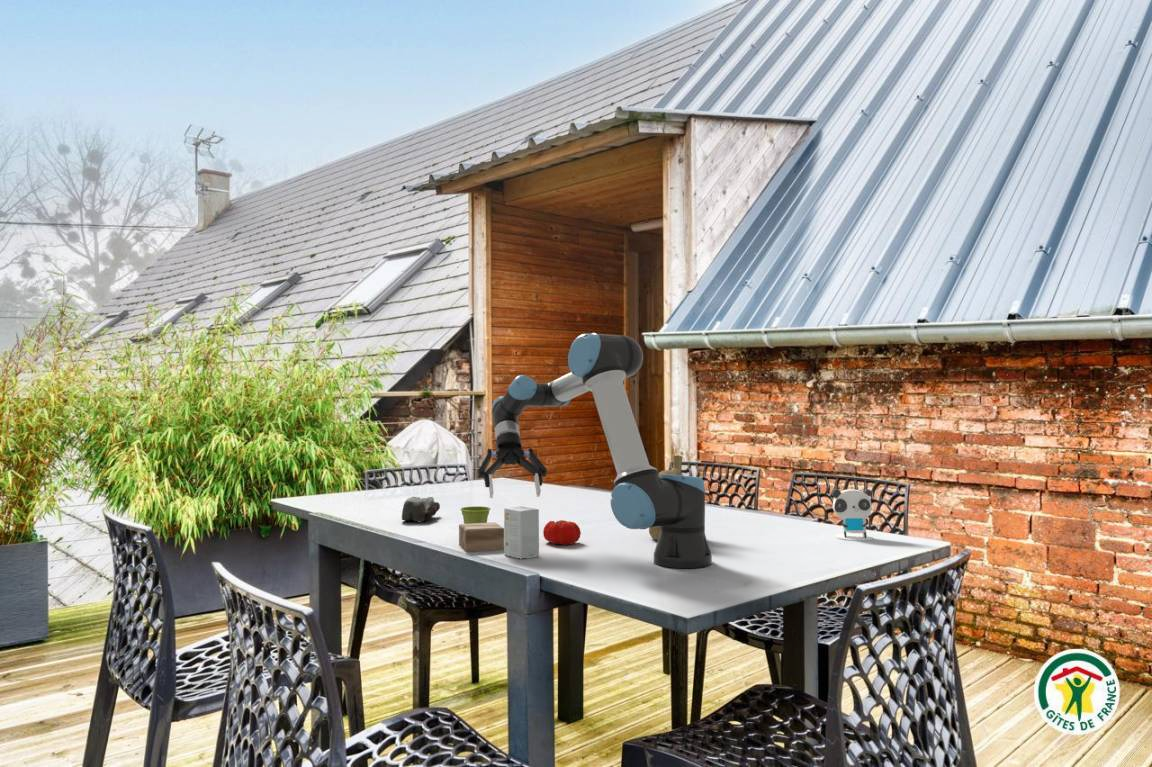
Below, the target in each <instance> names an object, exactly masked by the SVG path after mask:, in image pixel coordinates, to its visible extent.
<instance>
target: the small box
mask: <svg viewBox="0 0 1152 767" xmlns="http://www.w3.org/2000/svg"><path fill="white" fill-rule="evenodd" d="M503 510H504V511H503V512H504V513H503V514H504V515H503V516H504V521H503V522H504V525H503V528H504V550H503V553H504V554H503V555H504V556H506V555H507V556H506V557H510V556H511V558H514V557H515V559H518V558H520V559H519V560H523V559H522V558H527V559H530V558H529V557H533V558H537V557H536V556H538V557H540V517H539V516H540V514H539V512H540V509H538V508H532V507H527V506H515V507H514V506H513V507H512V506H511V507H505V508H504V509H503Z"/></svg>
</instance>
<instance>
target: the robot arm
mask: <svg viewBox="0 0 1152 767" xmlns="http://www.w3.org/2000/svg"><path fill="white" fill-rule="evenodd" d="M567 358H568V359H567V363H568V369H569V371H570V372H569V373H566V374H564V375H563V376H560V377H558V378H557V379H554V380H552V381H550V382H536V381H535V380H534V379H533V378H531V377H530V376H527V375H525V374H521V375H518V376H516V377H515V378H514V379H513V381H512V382H511V383H510V384H509V385H508V388H507V390H506V392H505V393H504V395H503V396H498V397H497V398H496V399H494V401H493V402H492V405H491V407H492V408H491V415H492V421H493V428H494V436H495V446H496V450H492V449H491V448H488V449H487V451H486V456H485V458H484V460H483V461H482V464H481V465H480V466H479V469H478V472H477V478H478V479H482V478H483V481H484V485H485V486H484V487H485V488H488V492H489V498H490V499H493V498H494V484H493V476H492V475H494V473H495V472H497V470H499V468H500V467H502V466H503V465H505V466H507V465H515V466H516V465H519V467H522V468H524V469H525V470H526V471H527V472H528V473H530V474H531V475H532V476H534V478H533V480H534V487H535V492H536V497H540V495H541V487H542V486H543V478H545V477H547V474H548V473H547V472H548V469H547V468H546V467H545V465H544V463H542V462H541V460H540V459H539V457H537V456H536V454H535V453H534V452H535V451H534V450H533V448H532V447H531V448H528V449H527V450H524V449H523V446H522V441H521V433H520V428H519V427H520V426H519V417H520V416H521V414H522V413H523V411H524V410H525V409H526V408H543V407H545V408H547V407H548V408H551V407H552V408H559V407H565V406H568V405H569V403H570V402H571V400H572V399H574V398H576V397H579V396H581V395H584V394H585V393H588V392H591V393H592V396H593V399H594V402H595V406H596V409H597V413H598V415H599V419H600V422H601V425H602V429H603V431H604V432H603V433H604V435H605V438H606V442H607V444H608V448H609V452H610V454H611V458H612V461H613V465H614V467H615V471H616V477H615V479H614V481H613V485H614V488H613V489H612V491H611V494H610V496H611V498H610V508H611V511H612V513H613V514H612V515H613V516H614V517H615V520H617V522H618V523H619V524H621V525H622V526H624V527H625V528H627V529H630V530H647V529H649V528H650V527H657V526H660V536H659V539H658V540H657V543H656V545H655V549H654V552H653V563H654V564H655V565H658V566H661V567H668V568H674V569H698V568H704V567H708V566H711V565H712V562H713V561H712V560H713V558H712V552H711V550H710V549H711V548H710V546H709V543H708V540H707V536H706V529H705V528H706V526H705V525H706V521H705V520H706V490H705V481H704V479H703V478H701V476H700V477H699V476H692V475H683V474H682V475H673V474H661V476H660V477H659V474H658V473H659V470H658V469H657V468H656V467H655V466H652V465H650V463H649V459H648V456H647V452H646V450H645V446H644V444H643V441H642V438H641V434H640V431H639V428H638V426H637V423H636V418H635V417H634V413H633V411H632V408H631V404H630V401H629V397H628V395H627V391H626V389H625V385H624V381H625V379H628V378H630V377H632V376H634V375H636V373H638V372H639V370H640V369H641V368H642V365H643V361H644V354H643V349H642V347H641V346H640V344H639V343H638V342H637V341H636V339H634V338H632V337H631V336H628V335H625V334H624V335H622V334H621V335H620V334H604V333H603V334H602V333H600V334H599V333H596V332H592V333H582V334H580V335H578V336H577V337H576V338H575V339H574V340H573V342H572V344H571V346H570V348H569V352H568V356H567ZM494 457H495V458H497V459H496V460H495V461H494V462H493V463H492V464H491V466H489V465H490V462H491V461H492V459H493V458H494ZM528 459H529V460H528ZM488 466H489V467H488Z"/></svg>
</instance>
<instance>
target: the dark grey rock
mask: <svg viewBox="0 0 1152 767" xmlns="http://www.w3.org/2000/svg"><path fill="white" fill-rule="evenodd" d="M440 508H441V505H440V503H439V502H437V501H435V498H434V497H433V496H429V497H428V496H427V497H424V498H420V496H418V497H417V496H412V497H408V498H406V499H405V501H404V503H403V507H402V511H401V520H404V521H410V520H412V521H414V522H416V521H422V522H423V521H425V520H427V519H429V518H431V517H434V516H435V515H436V514H437V512H438V511H439V510H440ZM424 519H425V520H424Z"/></svg>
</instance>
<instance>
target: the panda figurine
mask: <svg viewBox="0 0 1152 767" xmlns="http://www.w3.org/2000/svg"><path fill="white" fill-rule="evenodd" d="M830 492H831V493H830V494H831V496H832V497H833V498H834V499H833V502H832V510H833V512H834V513H835V514H836V516H837V517H839V518H840V525H841V533H836V534H834V538H835V539H837V540H842V541H849V542H850V541H851V542H867V541H873V540H874V537H873V536H871V535H867V526H868V524H869V519H868V518H869V516H870V515H871V513H872V510H873V506H872V501H871V498H870V497H872V496H873V491H872V490H870V489H869V488H864V490H859V489H854V488H853V489H852V488H849V489H844V490H840V489H838V488H833V489H831V491H830Z"/></svg>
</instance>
